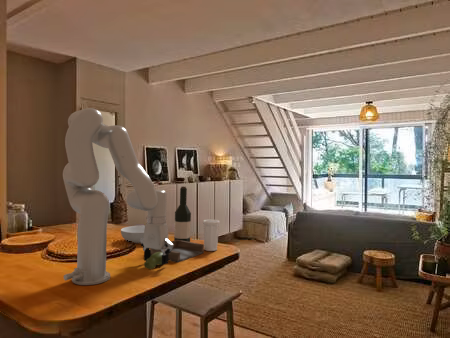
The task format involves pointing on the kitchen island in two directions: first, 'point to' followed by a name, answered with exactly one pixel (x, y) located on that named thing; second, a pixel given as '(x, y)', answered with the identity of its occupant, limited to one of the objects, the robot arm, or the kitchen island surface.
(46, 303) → the kitchen island surface
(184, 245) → the tray
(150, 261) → the pear
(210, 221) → the cup
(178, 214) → the wine bottle
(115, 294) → the kitchen island surface
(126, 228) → the serving bowl
